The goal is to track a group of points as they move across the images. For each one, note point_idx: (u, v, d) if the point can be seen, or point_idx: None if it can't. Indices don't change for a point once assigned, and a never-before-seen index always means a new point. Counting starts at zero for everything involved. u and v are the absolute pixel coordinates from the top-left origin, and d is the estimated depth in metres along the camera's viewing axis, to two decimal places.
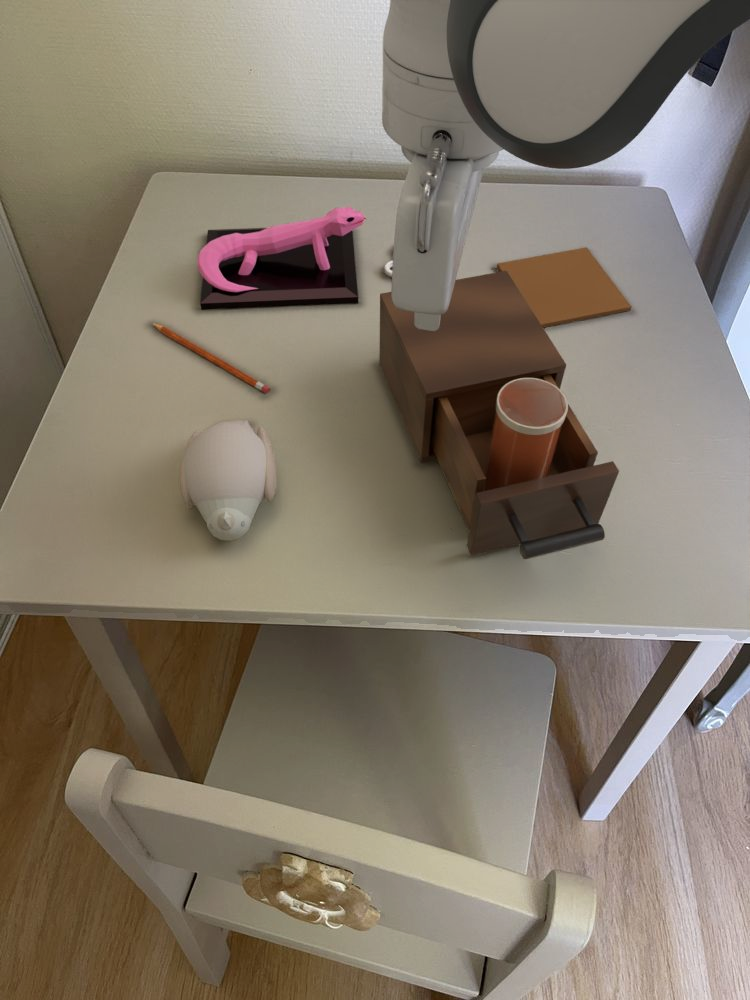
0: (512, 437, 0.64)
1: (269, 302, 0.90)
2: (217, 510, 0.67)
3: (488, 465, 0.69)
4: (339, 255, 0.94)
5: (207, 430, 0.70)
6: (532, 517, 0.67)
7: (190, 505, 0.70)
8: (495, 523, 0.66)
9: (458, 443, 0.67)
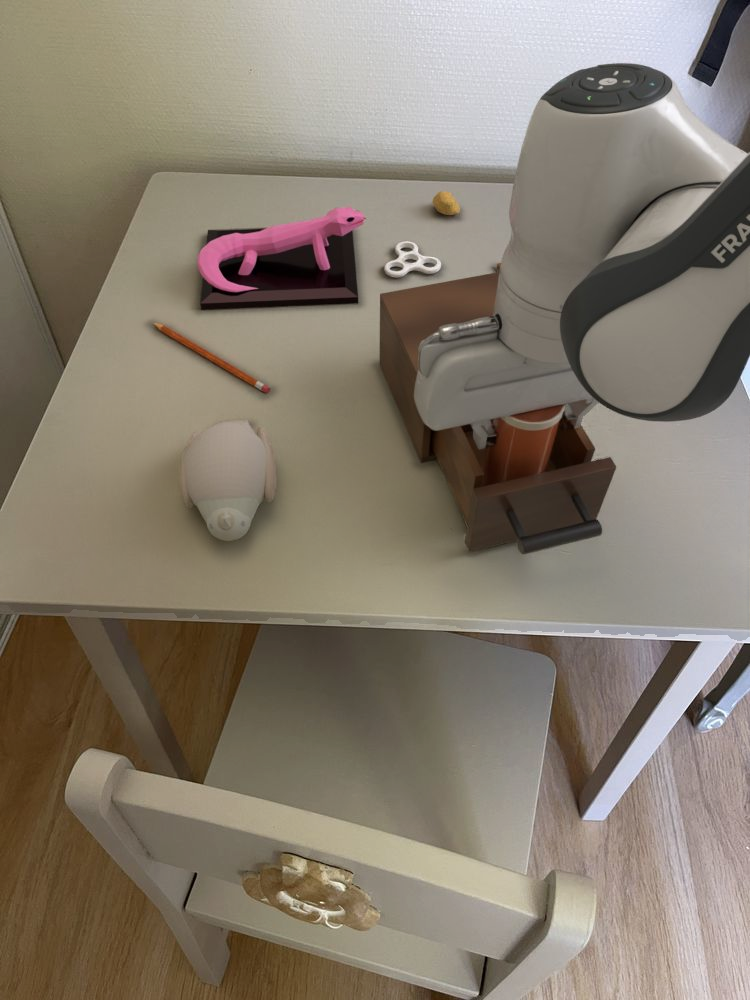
0: (510, 433, 0.64)
1: (269, 302, 0.90)
2: (217, 510, 0.67)
3: (486, 461, 0.69)
4: (339, 255, 0.94)
5: (207, 430, 0.70)
6: (530, 513, 0.67)
7: (190, 505, 0.70)
8: (493, 519, 0.66)
9: (457, 439, 0.67)
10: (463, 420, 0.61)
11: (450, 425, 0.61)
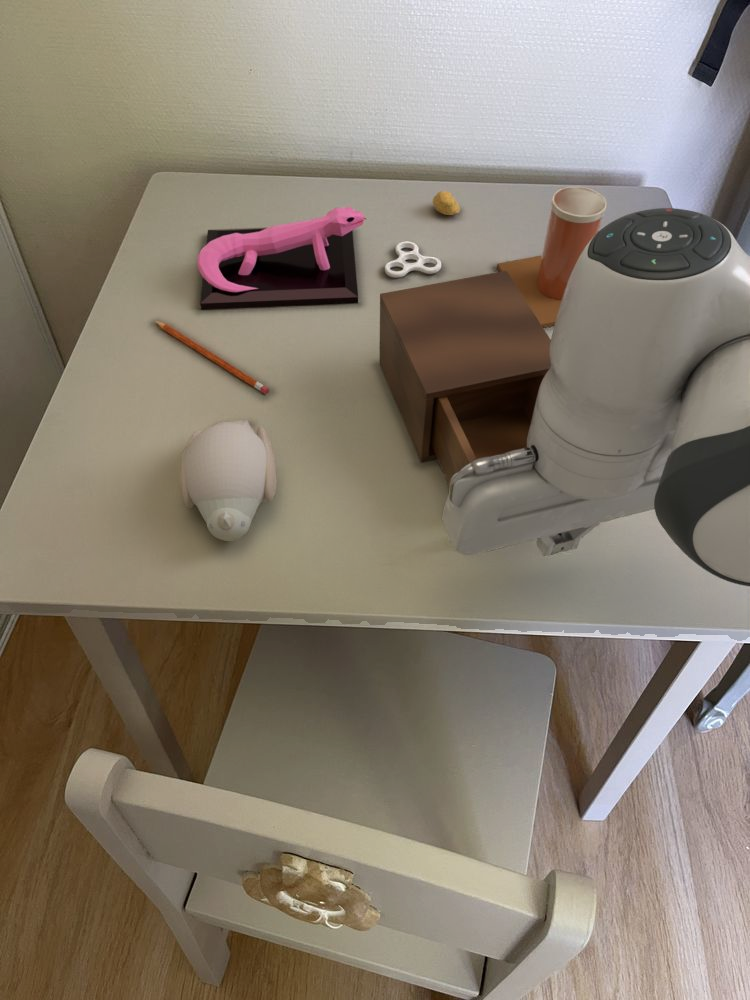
0: (564, 228, 0.84)
1: (269, 302, 0.90)
2: (217, 510, 0.67)
3: (542, 262, 0.89)
4: (339, 255, 0.94)
5: (207, 430, 0.70)
6: None
7: (190, 505, 0.70)
8: None
9: (451, 427, 0.68)
10: (495, 545, 0.58)
11: (481, 551, 0.58)
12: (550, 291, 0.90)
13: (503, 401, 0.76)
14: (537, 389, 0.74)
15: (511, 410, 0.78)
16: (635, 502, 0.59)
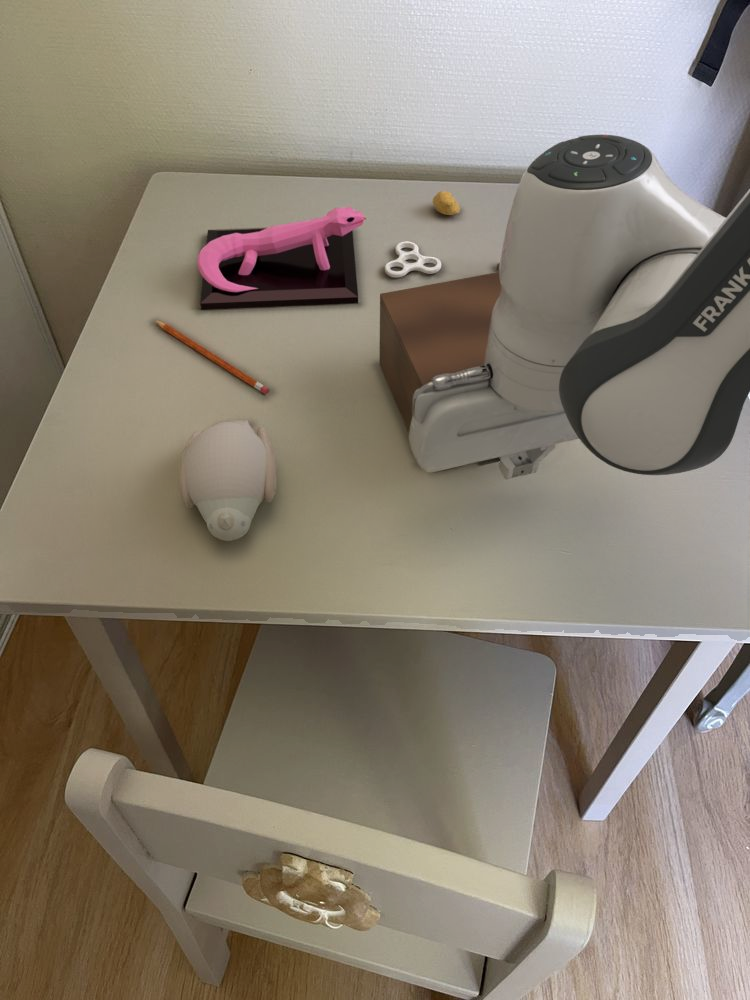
0: None
1: (269, 302, 0.90)
2: (217, 510, 0.67)
3: None
4: (339, 255, 0.94)
5: (207, 430, 0.70)
6: None
7: (190, 505, 0.70)
8: None
9: None
10: (456, 462, 0.63)
11: (444, 467, 0.63)
12: None
13: None
14: None
15: None
16: None
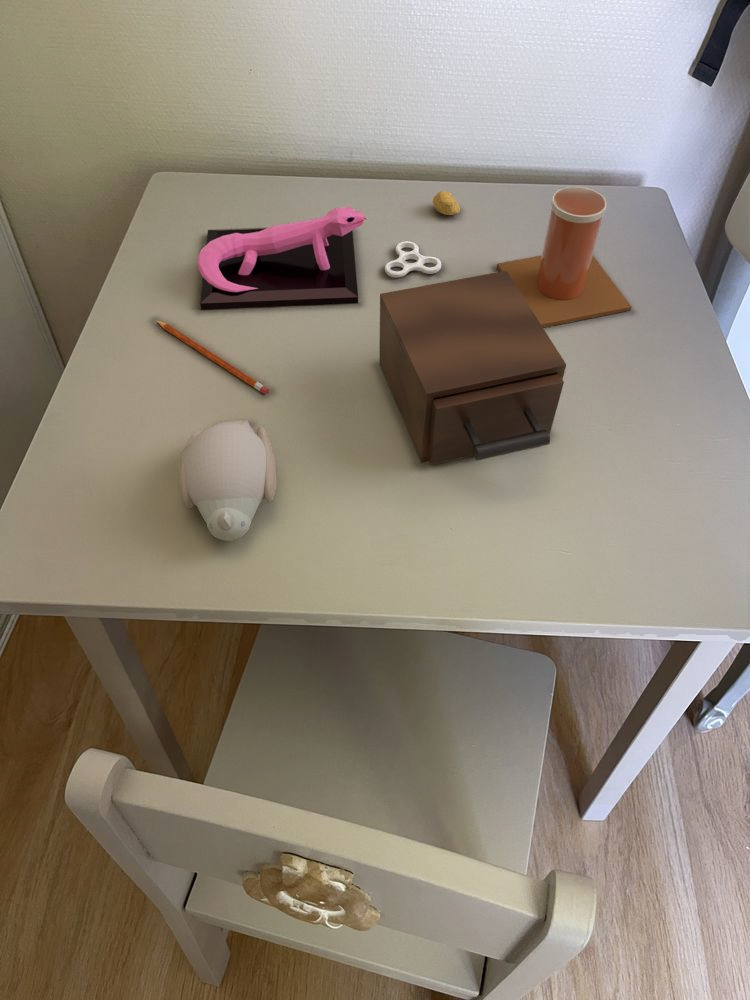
0: (564, 228, 0.84)
1: (269, 302, 0.90)
2: (217, 510, 0.67)
3: (542, 262, 0.89)
4: (339, 255, 0.94)
5: (207, 430, 0.70)
6: (486, 426, 0.73)
7: (190, 505, 0.70)
8: (451, 430, 0.72)
9: None
10: None
11: None
12: (550, 291, 0.90)
13: None
14: None
15: None
16: None
